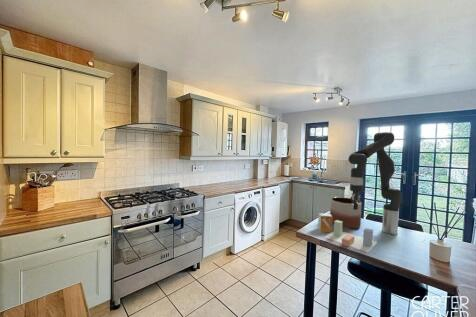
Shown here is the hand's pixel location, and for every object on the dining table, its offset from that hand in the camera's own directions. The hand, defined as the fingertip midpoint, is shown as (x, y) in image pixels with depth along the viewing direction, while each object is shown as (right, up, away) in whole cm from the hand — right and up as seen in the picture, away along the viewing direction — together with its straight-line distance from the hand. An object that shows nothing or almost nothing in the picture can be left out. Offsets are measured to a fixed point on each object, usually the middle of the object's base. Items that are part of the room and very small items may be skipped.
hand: (355, 209), depth 135 cm
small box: (-15, -20, +14) cm, 29 cm away
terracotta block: (-5, -18, -3) cm, 19 cm away
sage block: (-9, -19, +5) cm, 22 cm away
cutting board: (-4, -21, -1) cm, 21 cm away
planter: (+9, -20, +30) cm, 37 cm away
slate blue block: (+3, -20, -8) cm, 22 cm away
